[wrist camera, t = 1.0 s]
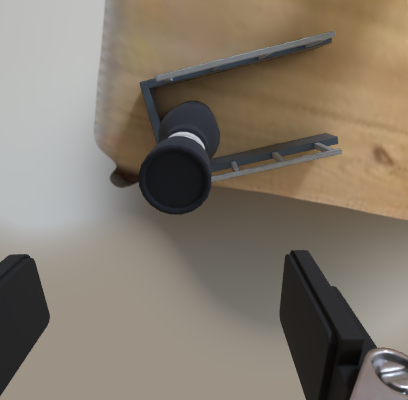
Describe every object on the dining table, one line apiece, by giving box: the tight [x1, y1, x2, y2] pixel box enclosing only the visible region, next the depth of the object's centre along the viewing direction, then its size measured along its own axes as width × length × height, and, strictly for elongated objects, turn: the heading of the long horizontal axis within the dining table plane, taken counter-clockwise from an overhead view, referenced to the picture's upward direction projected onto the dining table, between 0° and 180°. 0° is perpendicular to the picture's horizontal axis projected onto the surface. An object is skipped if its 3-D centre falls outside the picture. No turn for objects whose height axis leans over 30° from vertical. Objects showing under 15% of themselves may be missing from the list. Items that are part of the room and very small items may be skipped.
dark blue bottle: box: [139, 101, 220, 214], centre depth 29 cm, size 6×6×30 cm
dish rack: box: [140, 31, 342, 182], centre depth 38 cm, size 25×14×10 cm, turn 103°
